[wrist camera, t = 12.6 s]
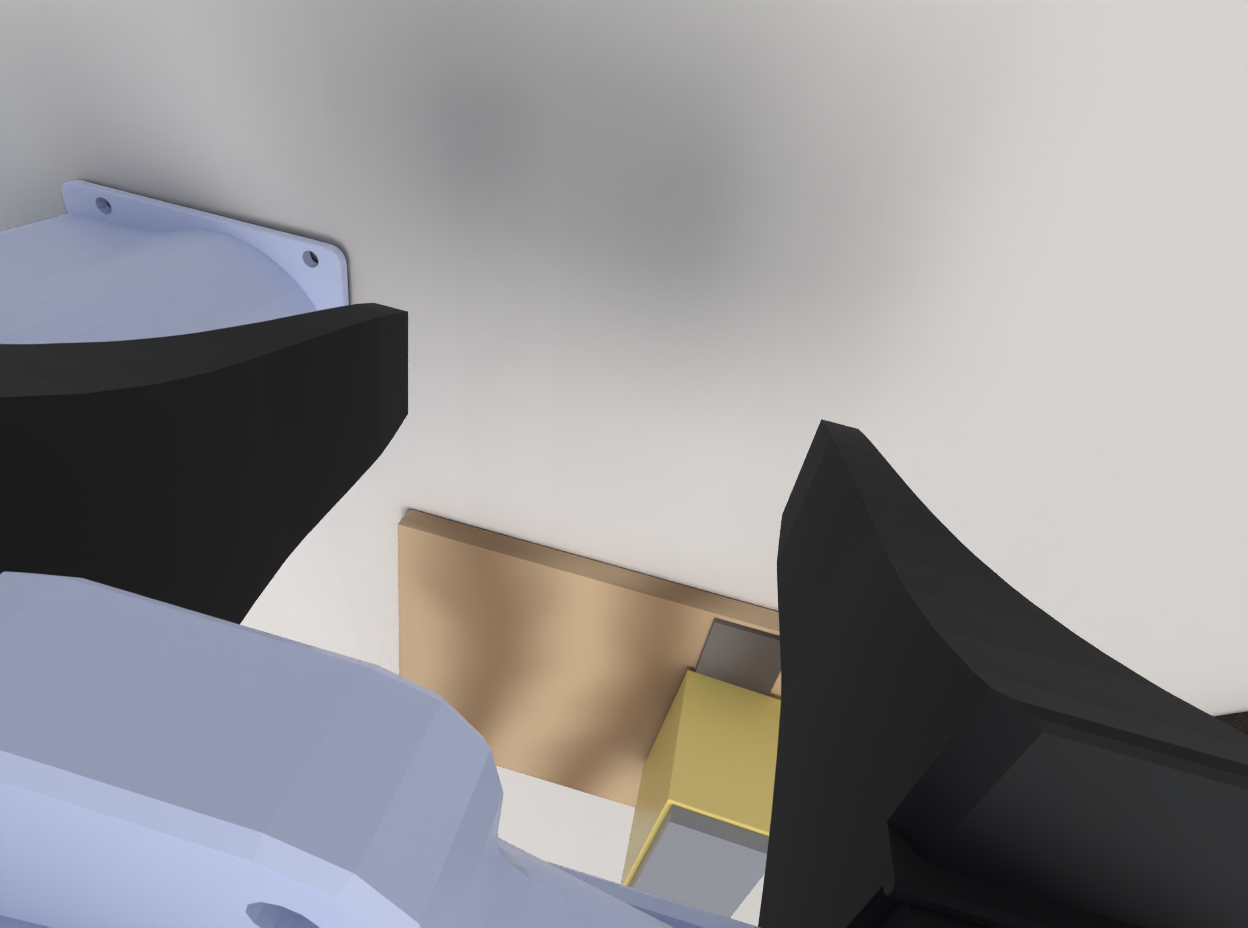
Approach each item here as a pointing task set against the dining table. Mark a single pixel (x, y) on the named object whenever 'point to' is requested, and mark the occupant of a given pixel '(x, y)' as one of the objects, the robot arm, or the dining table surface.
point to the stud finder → (706, 797)
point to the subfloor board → (564, 650)
